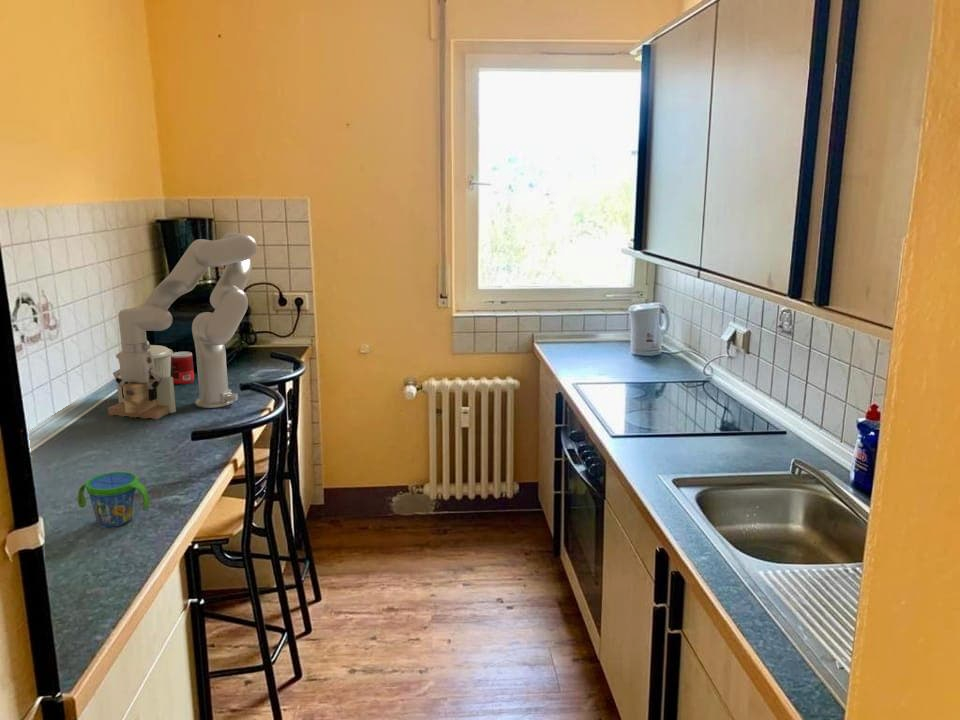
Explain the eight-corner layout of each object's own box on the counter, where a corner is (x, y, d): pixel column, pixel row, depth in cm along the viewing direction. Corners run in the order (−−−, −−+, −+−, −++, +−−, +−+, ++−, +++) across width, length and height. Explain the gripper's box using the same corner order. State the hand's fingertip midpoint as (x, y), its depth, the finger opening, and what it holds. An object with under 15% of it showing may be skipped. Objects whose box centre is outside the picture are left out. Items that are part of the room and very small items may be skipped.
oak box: (156, 405, 252) (154, 379, 250) (137, 414, 243) (135, 387, 240) (143, 404, 253) (140, 378, 251) (124, 412, 244) (121, 385, 242)
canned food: (198, 379, 292) (195, 351, 289) (188, 385, 284) (185, 356, 282) (178, 378, 293) (176, 351, 290) (168, 384, 285) (166, 355, 282)
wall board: (176, 411, 253) (172, 377, 250) (160, 419, 245) (156, 383, 242) (123, 407, 258) (119, 373, 255) (106, 414, 250) (102, 379, 247)
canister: (186, 392, 275) (181, 335, 270) (160, 407, 258) (154, 346, 253) (138, 390, 277) (132, 333, 272) (110, 405, 260) (103, 345, 255)
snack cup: (160, 514, 179) (156, 473, 176) (133, 534, 169) (129, 492, 166) (99, 508, 181) (94, 468, 179) (70, 528, 171) (64, 486, 169)
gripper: (165, 346, 245) (170, 397, 249) (118, 343, 248) (124, 393, 253) (151, 351, 238) (156, 404, 242) (103, 348, 241) (108, 400, 245)
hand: (139, 398), depth 247 cm, fingers open, 9 cm apart
